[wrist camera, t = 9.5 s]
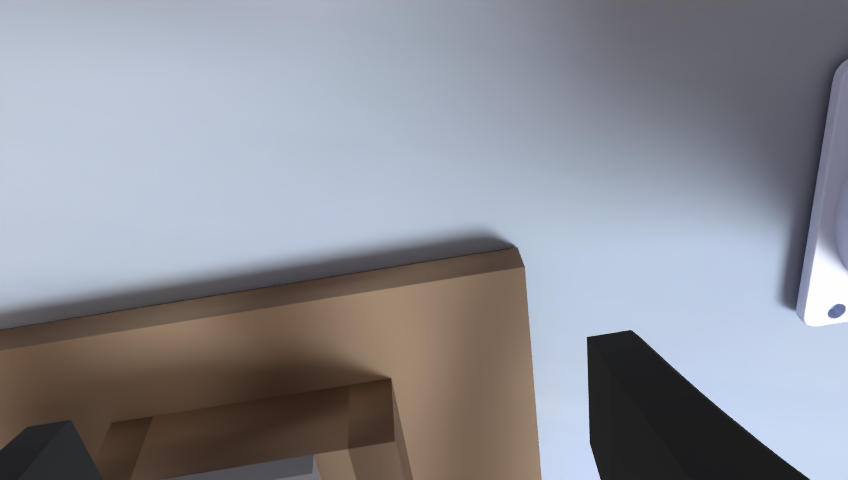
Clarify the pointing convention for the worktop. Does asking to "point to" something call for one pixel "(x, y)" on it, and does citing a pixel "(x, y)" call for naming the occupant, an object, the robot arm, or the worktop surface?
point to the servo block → (264, 471)
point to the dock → (297, 377)
